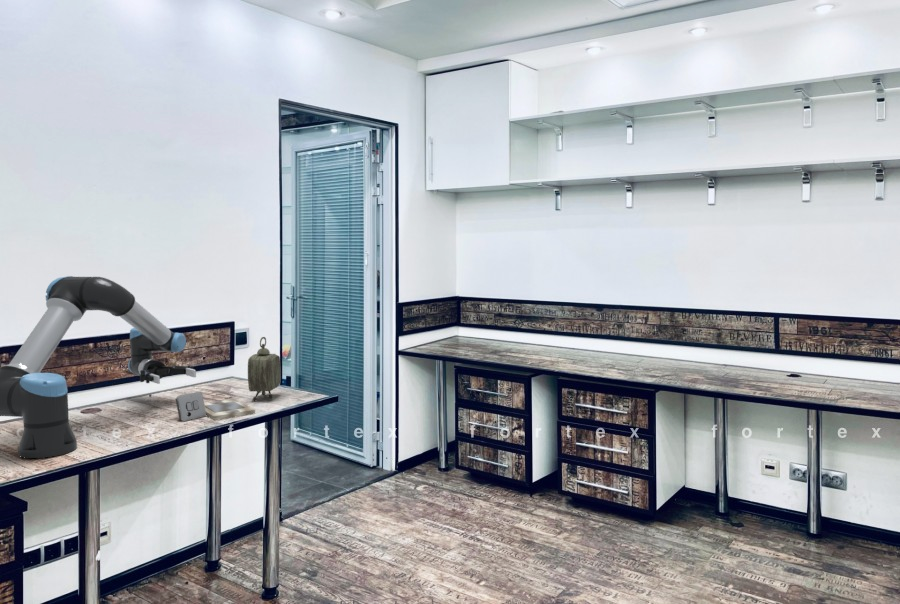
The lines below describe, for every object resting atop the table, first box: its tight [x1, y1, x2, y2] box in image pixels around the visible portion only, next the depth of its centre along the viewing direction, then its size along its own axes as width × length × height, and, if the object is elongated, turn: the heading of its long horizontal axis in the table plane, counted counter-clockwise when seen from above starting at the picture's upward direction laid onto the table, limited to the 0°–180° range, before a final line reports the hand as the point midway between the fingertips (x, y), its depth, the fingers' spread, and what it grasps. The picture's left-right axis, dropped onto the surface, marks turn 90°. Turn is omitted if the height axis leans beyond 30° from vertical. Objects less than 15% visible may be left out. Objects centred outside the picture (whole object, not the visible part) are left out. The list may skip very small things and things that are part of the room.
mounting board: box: [204, 398, 256, 421], centre depth 243 cm, size 15×22×2 cm
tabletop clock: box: [247, 336, 282, 402], centre depth 262 cm, size 14×9×25 cm, turn 178°
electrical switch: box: [175, 390, 207, 422], centre depth 233 cm, size 9×5×9 cm, turn 141°
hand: (177, 376), depth 239 cm, fingers open, 13 cm apart
